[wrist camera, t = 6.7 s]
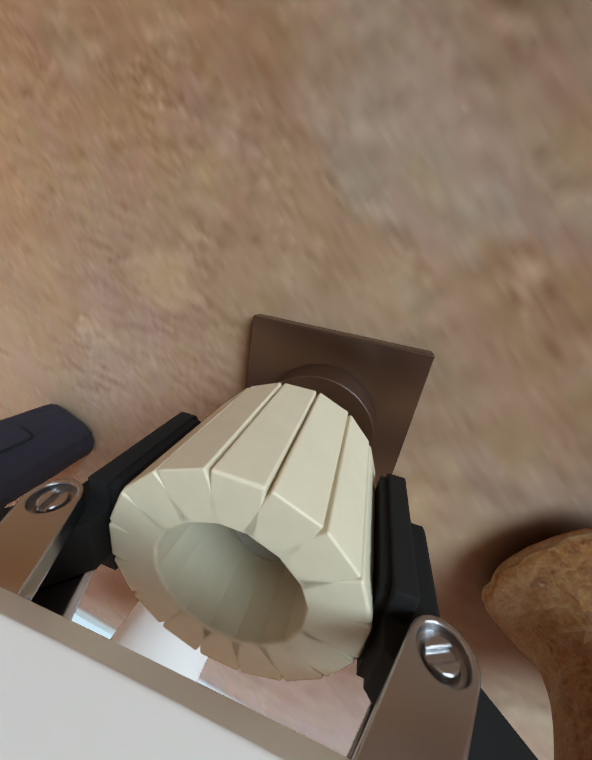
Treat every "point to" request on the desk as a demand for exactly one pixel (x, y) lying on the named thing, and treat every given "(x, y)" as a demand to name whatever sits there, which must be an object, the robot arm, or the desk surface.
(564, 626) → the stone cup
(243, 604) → the ribbed cream tube
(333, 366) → the tape stand
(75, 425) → the two-way radio
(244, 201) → the desk surface
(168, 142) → the desk surface
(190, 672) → the can
